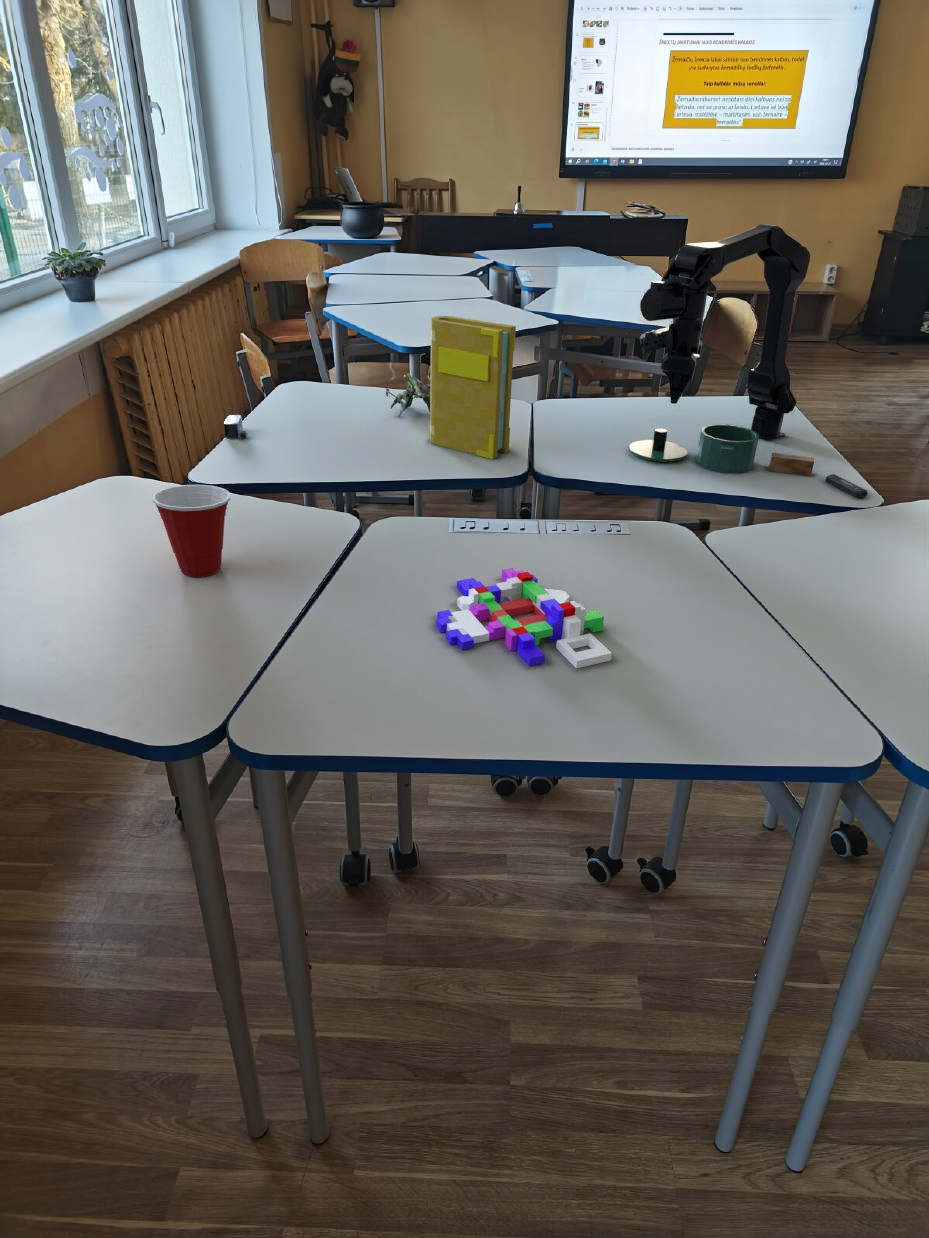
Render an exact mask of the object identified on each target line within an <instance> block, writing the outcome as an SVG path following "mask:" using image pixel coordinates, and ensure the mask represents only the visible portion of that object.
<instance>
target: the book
mask: <svg viewBox="0 0 929 1238" xmlns="http://www.w3.org/2000/svg"><path fill="white" fill-rule="evenodd" d="M516 330H517V326H516V325H513V324H506V323H500V322H498V323H496V322H490V321H483V320H477V319H470V318H465V317H458V316H452V315H451V316H450V315H440V316H438V315H437V316H433V317H431V318H430V377H431V386H430V390H429V391H430V412H429V416H430V418H429V442H430V443H431V444H433V445H436V446H440V447H444V448H448V449H453V450H456V451H461V452H466V453H469V454H474V455H476V456H478V457H483V458H486V459H490V460H494V459H495V458H497V457H498V452H499V453H503V454H505V453H507V452H509V451H510V438H511V427H510V420H511V419H510V418H511V401H512V383H513V367H514V366H513V365H514V352H515V348H516Z"/></svg>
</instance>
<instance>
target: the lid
mask: <svg viewBox="0 0 929 1238" xmlns="http://www.w3.org/2000/svg"><path fill="white" fill-rule="evenodd" d="M667 437H668V430H667V429H665V428H655V429H654V432H653V439H643V440H636V441H633V442H631V443H630V445H629V447H628V451H629V452H630V453H631V454H632V455H634V456H635V457H638V458H641V459H644V460H649V461H653V462H676V461H681V460H684V459H686V458H687V456H688V454H689V452H688V449H687V448H686V447H684V446H682V445H681V444H678V443H675V442H671V441H667Z"/></svg>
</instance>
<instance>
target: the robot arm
mask: <svg viewBox="0 0 929 1238" xmlns="http://www.w3.org/2000/svg"><path fill="white" fill-rule="evenodd" d="M755 254H756V255H757V256H758V257H759V259H760V260H761V261H762V262H763V279H764V281H765V282H766V285H767V288H768V291H769V293H768V301H767V309H766V315H765V323H764V330H763V338H762V344H761V353H760V359H759V362H758V363H757V365H756V366H755V367H754V368H753V369H750V370H748V373H747V377H748V378H747V384H746V386H745V388H746V389H747V394H748V403H749V405H753V406H756V407H755V409H754V414H753V418H752V421H751V422H752V423H751V428H749V429H750V430H753V431H755V432H756V433H757V434H759V439H763V440H765V441H772V440H775V439H779V438H783V437H786V434H787V433H785V432H783V431H782V426H783V422H784V417H785V414H790V413H791V412H793V411H794V409H795V407H796V405H797V400H796V398H795V396H794V394H793V392H792V390H791V373H790V371H789V368H788V366H787V364H786V356H787V351H788V344H789V343H788V342H789V335H790V329H791V324H792V317H793V310H794V302H795V296H796V291H797V290H798V288H800V286H801V284H803V282H804V280H805V279H806V277H807V274H808V270H809V269H808V268H809V265H810V262H811V252H810V251H809V250H808V248H807V247H806V246H805V245H802V244H801V243H800V242H799V241H797V240H796V239H794V238H793V237H791V236H789V235H788V233H786V232H785V230H784V229H783V228H782V227H780V225H776V224H775V225H774V224H767V223H760V224H757V225H756V226H754V227H753V228H750V229H747V230H744V231H741V232H739V233H735V234H733V235H731V236H729V237H725V238H723V239H719V240H717V241H713V242H694V243H693V242H692V243H686V244H684V245H682V246H681V247H680V248H679V249H678V253H677V254H676V255H675V257H674V259H673V260H672V262H671V264H670V265H669V266H668V268H667V270H666V271H665V273H664V275H663V276H662V278H661V280H660V281H658V280H657V281H655V280H654V281H651V282H650V286H649V288H648V289H647V290H645V292H644V293H643V295H642V296H641V298H640V302H639V309H640V313H641V315H642V317H643V318H644V319H645V320H646V321H648V322H656V321H663V320H671V321H670V323H669V325H668V327H663V328H659V329H652V330H651V331H646V332H644V333H642V334H641V335H640V336H639V340H640V344H639V346H640V348H641V350H642V354H643V355H646V354H649V353H651V352H653V351H657V350H661V349H665V350H664V351H665V352H666V353H665V354H663V357H662V358H661V364H660V370H661V372H662V373H663V374H665V376H666V377H667V378H668V385H669V397H670V403H671V404H674V405H676V404H677V403H678V401H679V400H680V398H681V396H682V395H683V393H684V391H685V390H686V388H687V386H688V384H689V382H690V381H691V380H692V377H693V376H694V373H695V371H696V365H697V363H698V361H699V359H700V357H701V354H702V350H703V342H702V340H701V336H702V330H703V326H704V317H705V311H706V310H705V309H706V304H707V298H708V293H710V292H715V291H717V286H716V285H715V283H713V282H712V278H714V277H716V276H719V274H721V273H722V272H723V270H724V268H725V267H727V265H728V266H729V264H732V263H735V262H737V261H740V260H743V259H745V258H748V257H750V256H753V255H755Z"/></svg>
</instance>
